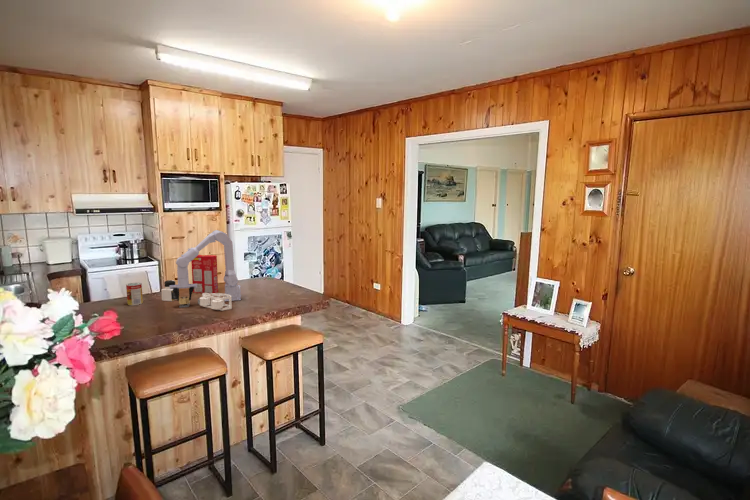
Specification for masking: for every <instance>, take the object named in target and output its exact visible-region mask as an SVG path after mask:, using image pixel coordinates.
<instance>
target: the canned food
mask: <svg viewBox="0 0 750 500" xmlns="http://www.w3.org/2000/svg"><path fill="white" fill-rule="evenodd" d="M125 285H126V287H125V288H126V289H125V290H126V301H127V305H128V306H138V305H139V304H140V305H142V304H143V303H144V299H143V285H142V282H130V283H126V284H125Z"/></svg>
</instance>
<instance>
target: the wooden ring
mask: <svg viewBox="0 0 750 500" xmlns="http://www.w3.org/2000/svg"><path fill="white" fill-rule="evenodd" d="M183 297H186V298H183ZM188 303H190V304H191V300H189V295H188V296H179V301H178V304H179V305H180V304H188Z"/></svg>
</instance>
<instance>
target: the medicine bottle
mask: <svg viewBox="0 0 750 500" xmlns="http://www.w3.org/2000/svg"><path fill="white" fill-rule="evenodd" d="M163 283H164V288H162V289H161V301H165V302H174V301H177V297H176V295H175V293H174V292H173V289H170V287H169V286H170V285H176V281H175V280H173V279H167V280H165V281H164V282H163Z"/></svg>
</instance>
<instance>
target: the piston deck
mask: <svg viewBox="0 0 750 500" xmlns="http://www.w3.org/2000/svg"><path fill="white" fill-rule="evenodd" d="M182 297H183V298H186V297H184V296H182ZM190 304H191V302H190V303H188V304H179V306H178V307H179V309H180V308H182V309H183V308H189V307H190Z"/></svg>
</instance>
